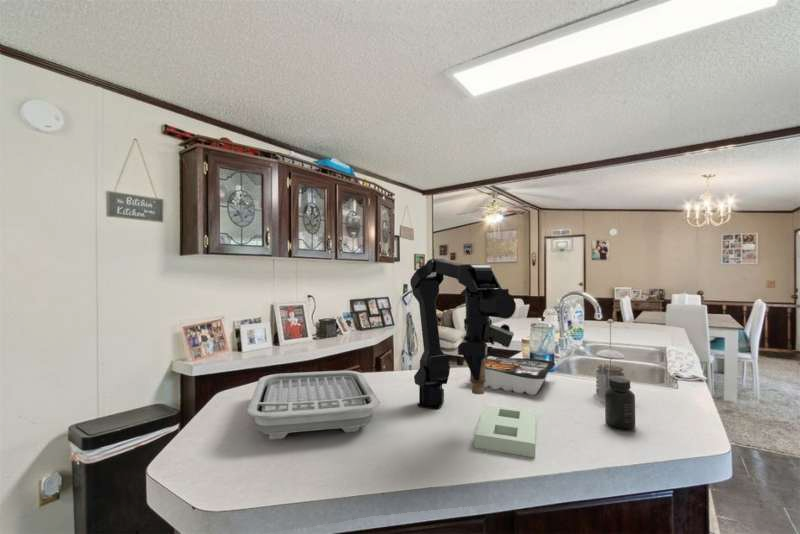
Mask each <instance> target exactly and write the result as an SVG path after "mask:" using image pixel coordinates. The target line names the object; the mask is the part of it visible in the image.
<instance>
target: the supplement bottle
mask: <svg viewBox="0 0 800 534" xmlns="http://www.w3.org/2000/svg"><path fill="white" fill-rule="evenodd" d="M609 386H610V388H608V389H606V391H605V402H604V418H605V419H604V421H605V424H606V426H608V427H610V428H611V429H614V430H618V431H626V432H627V431H629V432H630V431H633V430H634V429H635V428H636V395H635V393H634V392H633V391H632V390H631V380H630V379H627V378H625V379H624V378H609Z"/></svg>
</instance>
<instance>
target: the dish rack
mask: <svg viewBox="0 0 800 534" xmlns="http://www.w3.org/2000/svg"><path fill="white" fill-rule="evenodd" d="M379 405H380V399H379V397H378V396H377V394H375V392H374V391H373V389H372V387H371V386H370V385H369V383H368V381H367V380H366V378H365V377H364V375H363V373H361V372H359V371H355V370H326V371H325V370H324V371H308V372H307V371H306V372H305V371H304V372H285V373H283V372H282V373H274V374H269V375H264V376H262V377H260V378H259V379H258V382H257V383H256V387H255V389H254V392H253V395H252V397H251V401H250V403H249V404H248V406H247V409H246V413H247V415H249V416H250V417H252V418H254V428H255V430H256V431H257V432H260V433H263V434H266V435H268V439H269V440H271V441H272V440H273V441H274V440H281V439H284V438H285V437H287V436H288V434H290V433H298V432H300V433H301V432H310V431H322V430H333V429H334V430H335V429H342V430H343V431H344V432H345V433H355V432H358V431H359V429H360V427H363V426H364V425H366V424H369V423H370V422H371V421H372V419H373V409H375V408H376V407H378V406H379Z"/></svg>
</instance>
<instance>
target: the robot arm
mask: <svg viewBox="0 0 800 534" xmlns="http://www.w3.org/2000/svg"><path fill="white" fill-rule="evenodd" d="M444 276H446V277H449V278H453V279H456V280H457V282H458V284H461V285H462V286H463V287H465V288H464V289H463V290H462V291H461V292H460V296H461V297H462V296H463V297H465V318H463V323H464V324H465V335H464V337H463V339H464V340H463V341H462V342H460V343H459V344H458V345H457V355H459V356H463V359H464V361H465V362H466V365H467V366H468V367H469V368H468V369H469V372H470V371H471V373H472V376H473V378H474V380H477V381H478V380H479V378H480V372H481V366H482V360H483V359H484V358H486V356H487V355H489V353H490V351H492V349H493V345H495V343H497V344H499V345H501V347H504V348H510V346H511V342H512V340H513V338H514V335H515V333H514V331H511V327H510V325H508V324H505V323H503V324H502V325H500V326H498V325H494V324H493V320H492V318H499V319H506V320H507V319H509V318H511V317H512V316H513V315H514V314H515V312H516V307H517V304H516V303H517V302H516V301H515V299H514V297H513V295H512V294H510V291H509V288H507V287H506V288H505V287H502V286H501V285H500V282H499V281H498V279H497V277H496V275H495V273H494V271H493V269H492V266H491V265H489V264H486V263H485V264H483V263H482V264H480V263H478V264H475V263H474V264H473V263H469V264H468V263H467V264H466V263H465V264H463V263H458V262H454V261H449V260H446V259H444V258H431V259H428V260H427V262H426V263H425V264H424V265H422V266H421V267H419V268H418V269H416V271H414V273H413V275H412V276H411V278H410V281H409V282H410V283H409V284H410V287H411V292H412V296H414V298H415V299H416V300H417V302H418V305H419V306H418V307H419V316H420V323H421V324H420V326H421V336H422V344H423V352H422V355H421V357H420V359H419V368H418V370H417V371H416V373H415V374H414V376H413V379H414V384H415V385H417V386H419V387H418V388H419V389H418V390H419V396H418V398H419V399H418V400H419V401H418V403H417V407H418V408H420V407H421V408H425V409H426V408H427V409H434V410H435V409H436V410H439V409H440V408H441V407H442V405H443V404H444V402H445V389H444V388H443V385H447V384H448V380H449V376H450V371H451V367H450V359H449V358H450V357H449V355H448V354H445V353H444V352H443V350H442V349H441V342H440V333H439V332H440V331H439V323H438V315H437V314H438V313H437V306H436V300H437V297H438V296H439V293H440V285H441V284H442V282H443V281H444V279H445V278H444ZM490 317H491V318H490ZM488 344H491V345H492V346H488Z"/></svg>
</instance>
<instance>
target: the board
mask: <svg viewBox="0 0 800 534" xmlns="http://www.w3.org/2000/svg"><path fill="white" fill-rule="evenodd" d="M536 427H537V411H536V410H529V409H523V408H514V407H507V406H500V405H493V404H492V405H491V404H485V407H484V409H483V411H482V414H481V416H480V419H479V422H478V424H477V427H476V429H475V431H474V434H473V435H474V438H473V439H474V440H473V441H474V442H473V443H474V444H473V445H474V446H473V447H474V448H476V449H480V450H488V451H493V452H499V453H504V454H505V453H506V454H512V455H519V456H524V457H530V458H536V435H537V433H536V431H537V430H536V429H537V428H536Z"/></svg>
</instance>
